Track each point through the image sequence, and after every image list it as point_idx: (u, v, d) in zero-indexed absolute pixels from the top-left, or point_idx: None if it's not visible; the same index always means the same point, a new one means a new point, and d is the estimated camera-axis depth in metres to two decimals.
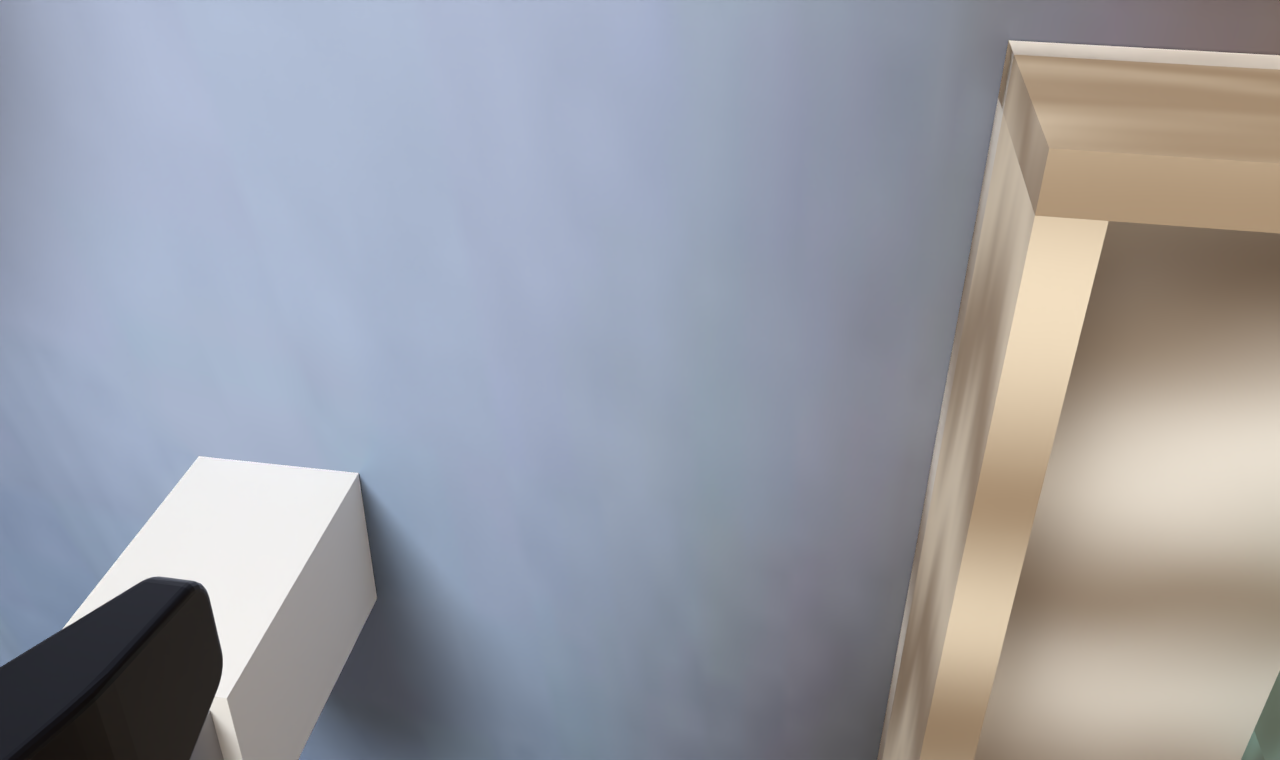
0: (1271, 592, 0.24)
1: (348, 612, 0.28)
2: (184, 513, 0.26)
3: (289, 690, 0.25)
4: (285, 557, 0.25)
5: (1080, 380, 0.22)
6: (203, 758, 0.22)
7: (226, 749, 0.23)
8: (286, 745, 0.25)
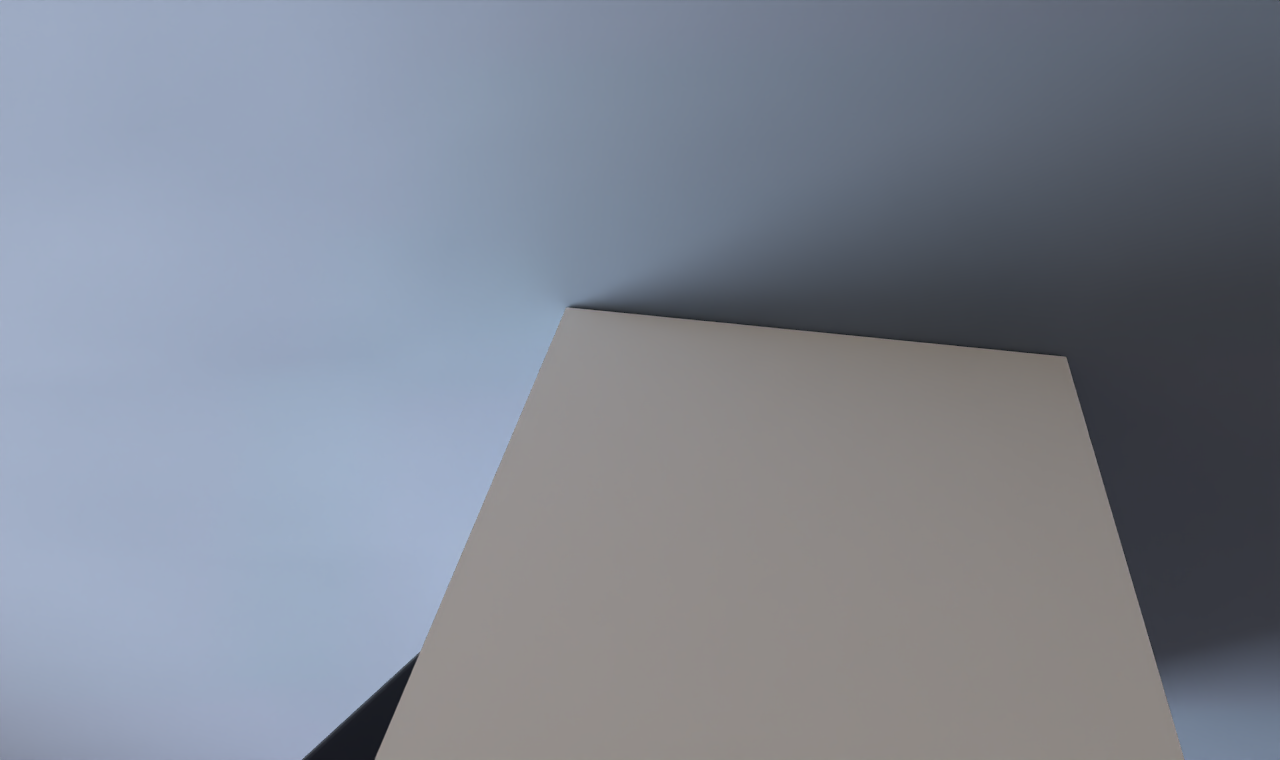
0: None
1: (936, 466, 0.08)
2: None
3: None
4: None
5: None
6: None
7: None
8: None
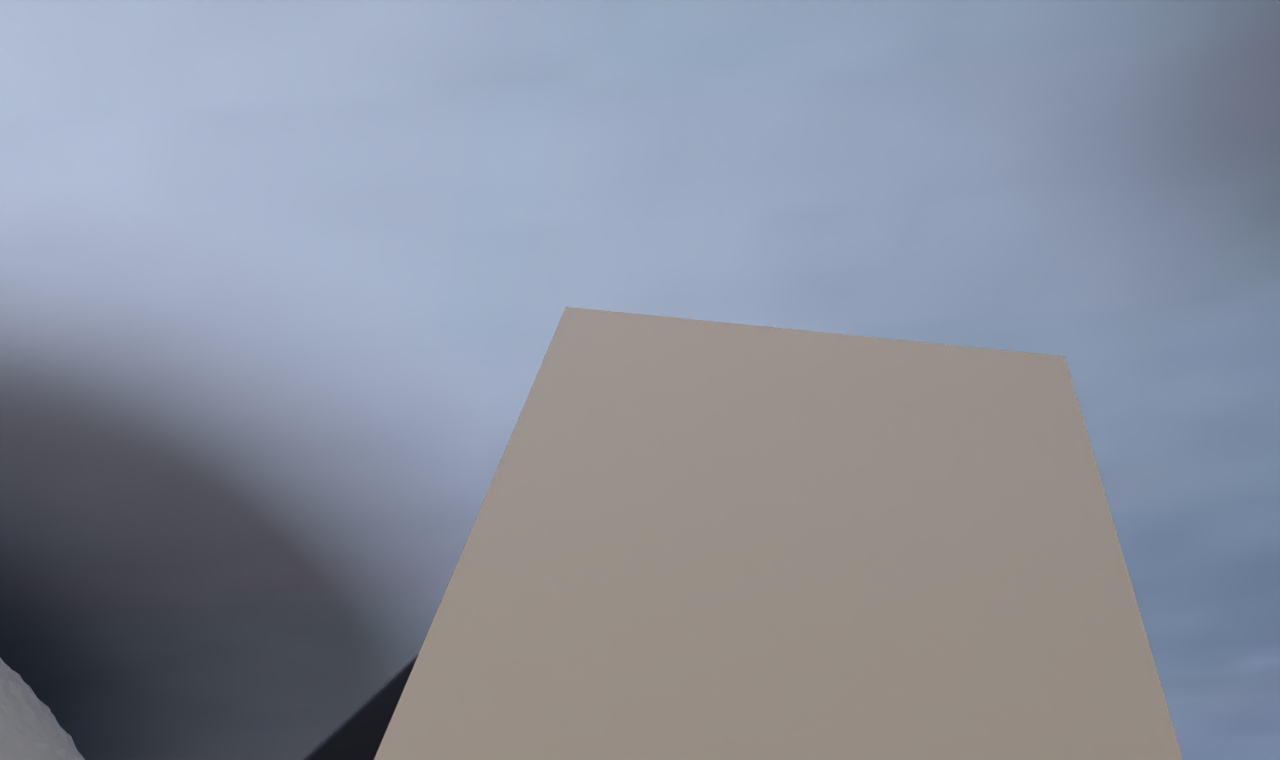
0: None
1: (935, 466, 0.08)
2: None
3: None
4: None
5: None
6: None
7: None
8: None
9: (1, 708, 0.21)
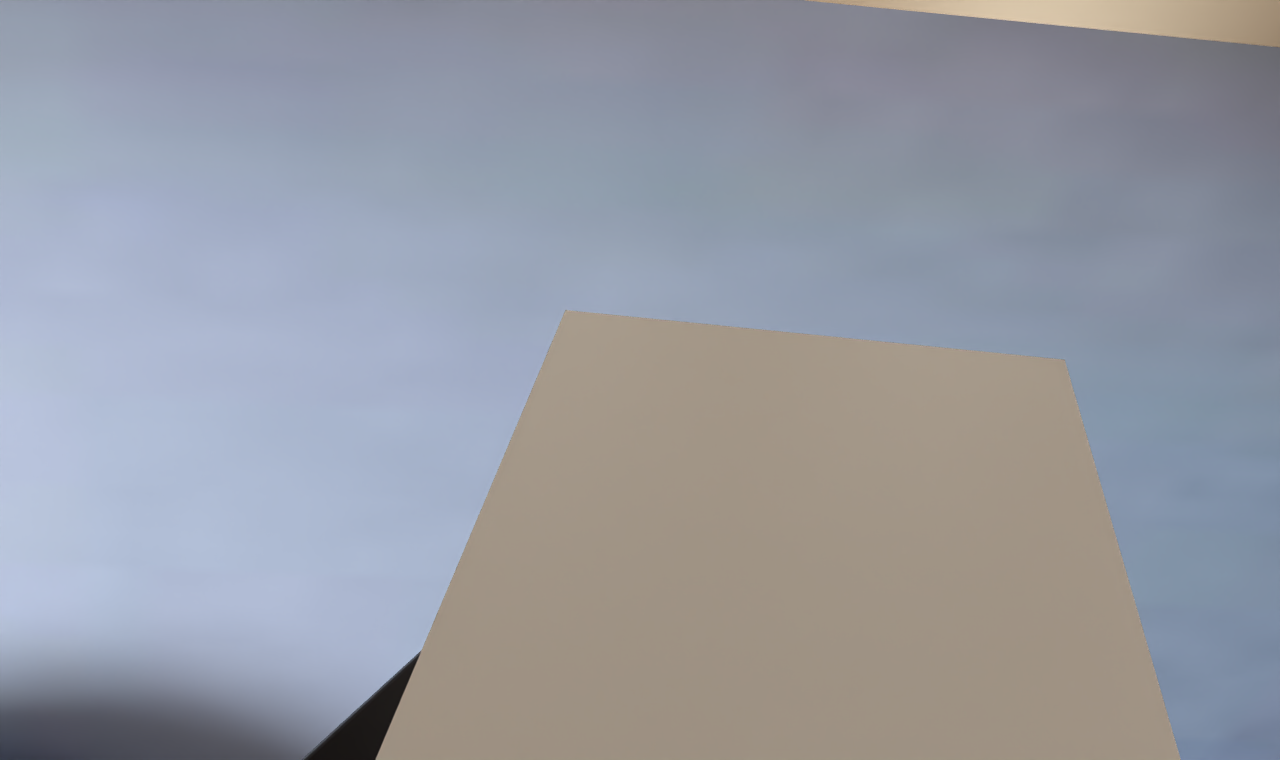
0: None
1: (934, 470, 0.08)
2: None
3: None
4: None
5: None
6: None
7: None
8: None
9: None
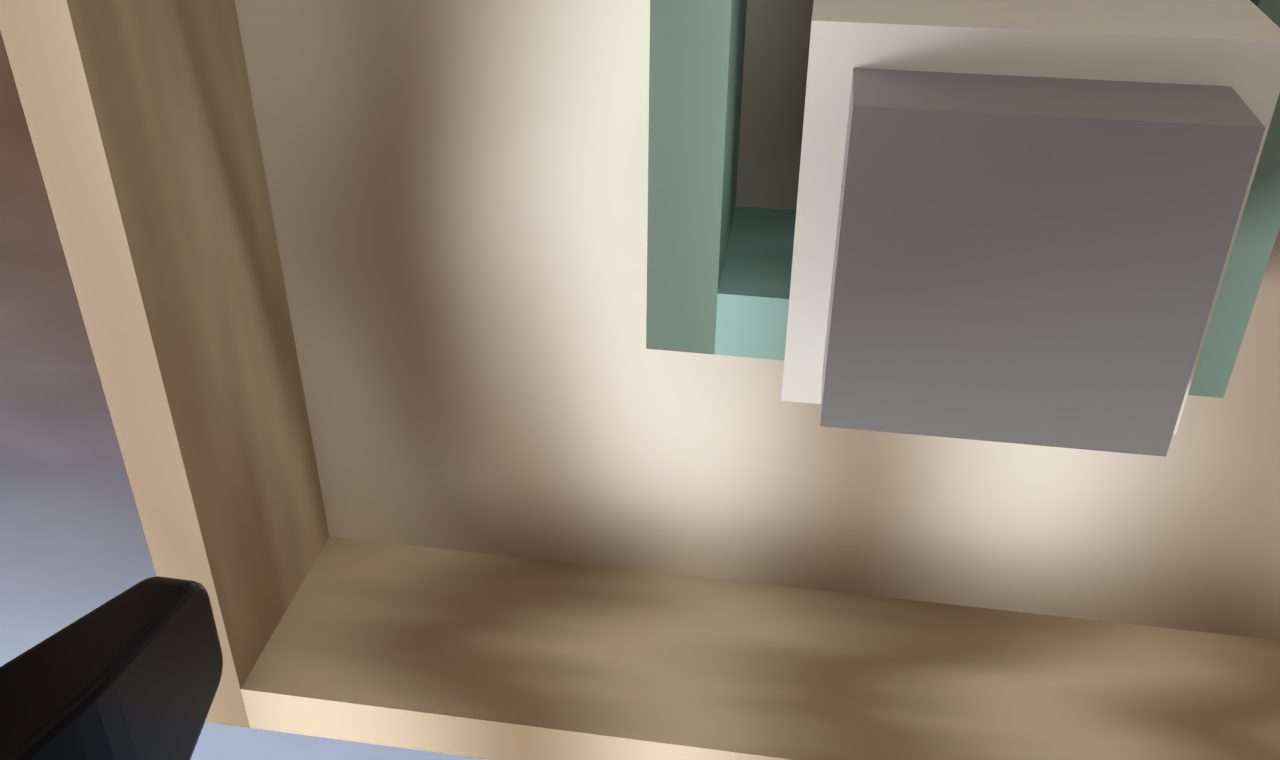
0: None
1: None
2: None
3: None
4: None
5: (573, 510, 0.23)
6: (934, 92, 0.10)
7: (978, 62, 0.10)
8: None
9: None
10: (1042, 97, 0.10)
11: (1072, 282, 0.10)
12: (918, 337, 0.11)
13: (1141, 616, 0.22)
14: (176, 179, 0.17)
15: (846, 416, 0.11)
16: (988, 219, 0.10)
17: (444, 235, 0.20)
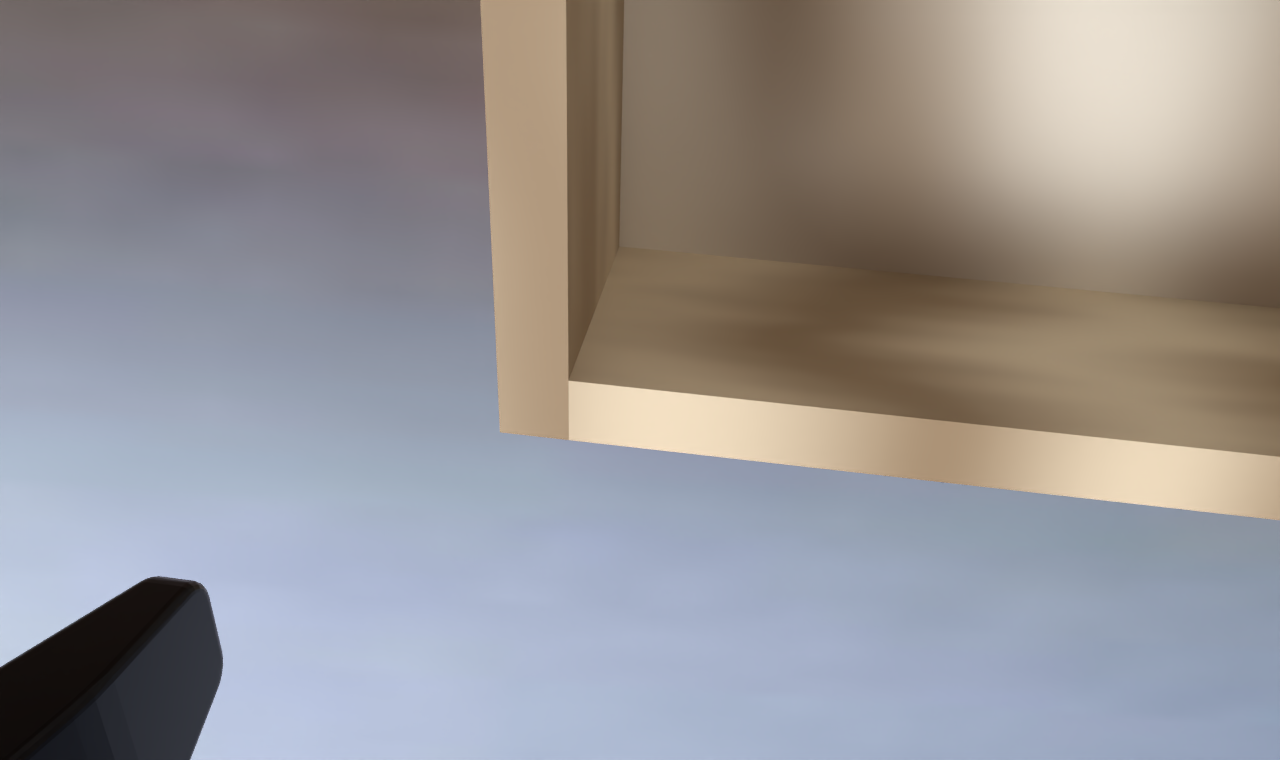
0: None
1: None
2: None
3: None
4: None
5: (948, 199, 0.18)
6: None
7: None
8: None
9: None
10: None
11: None
12: None
13: None
14: None
15: None
16: None
17: None
